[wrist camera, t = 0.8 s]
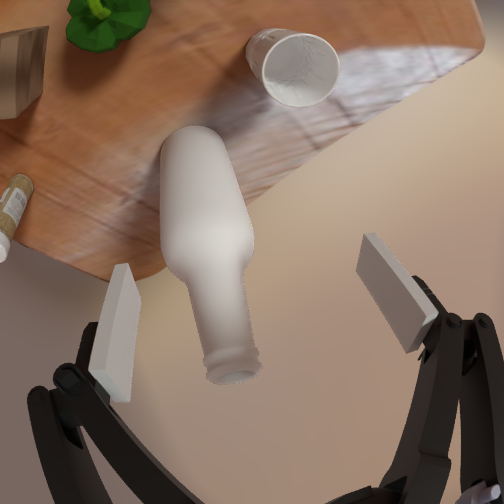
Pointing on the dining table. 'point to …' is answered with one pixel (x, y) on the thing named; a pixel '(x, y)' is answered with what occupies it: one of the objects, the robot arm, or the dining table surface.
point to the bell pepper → (105, 22)
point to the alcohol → (209, 247)
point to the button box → (21, 69)
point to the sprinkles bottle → (13, 209)
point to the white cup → (293, 66)
